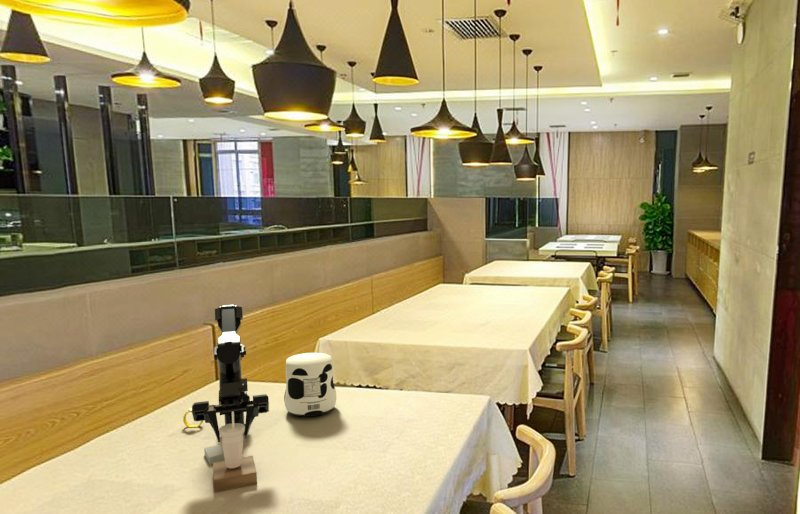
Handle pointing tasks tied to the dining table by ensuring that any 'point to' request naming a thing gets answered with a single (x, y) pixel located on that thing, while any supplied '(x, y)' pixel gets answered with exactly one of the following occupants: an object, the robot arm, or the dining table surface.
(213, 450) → the grey tile
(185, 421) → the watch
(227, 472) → the walnut block
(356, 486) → the dining table surface
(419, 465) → the dining table surface
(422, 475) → the dining table surface
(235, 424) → the smoothie
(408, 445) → the dining table surface
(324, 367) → the milk container
